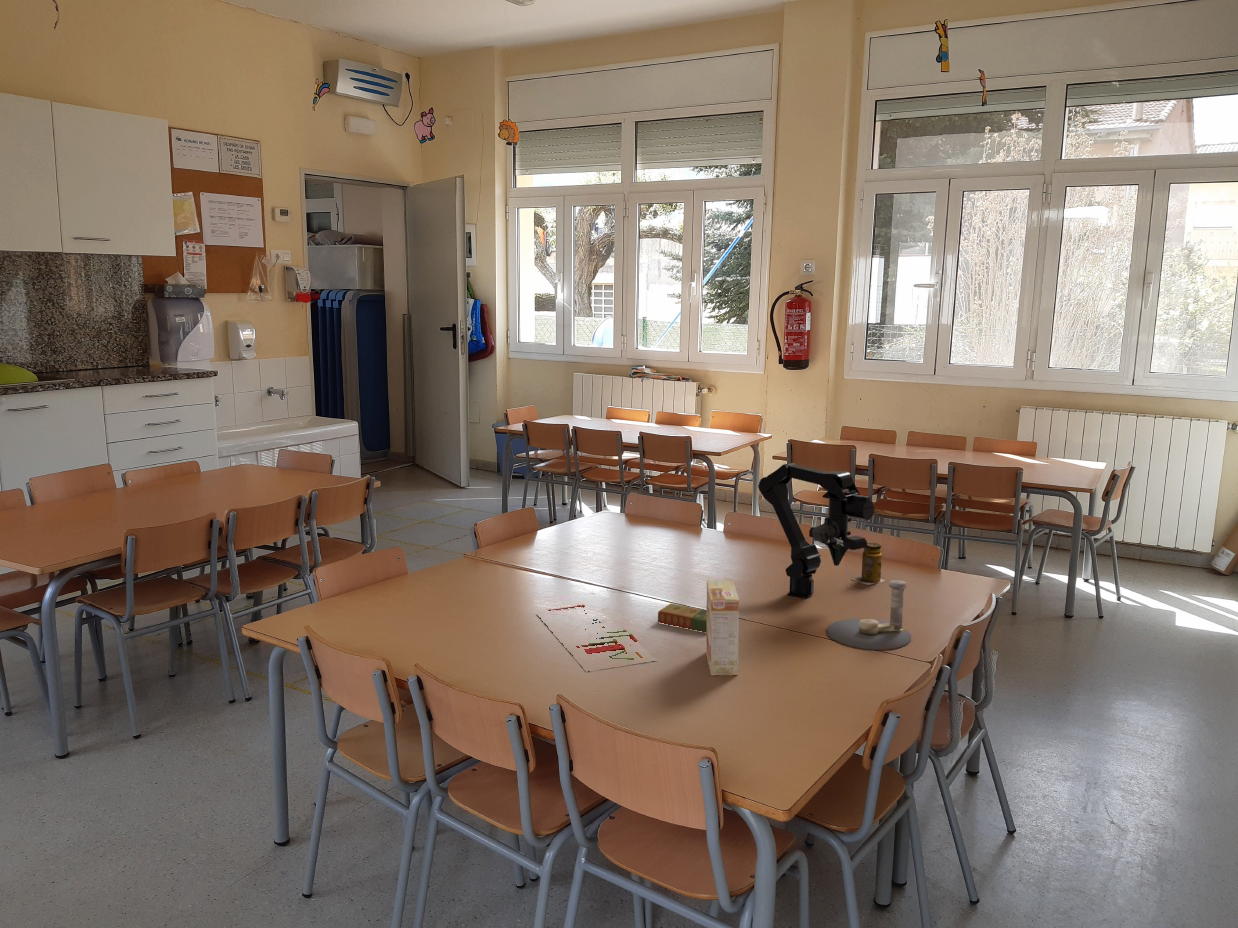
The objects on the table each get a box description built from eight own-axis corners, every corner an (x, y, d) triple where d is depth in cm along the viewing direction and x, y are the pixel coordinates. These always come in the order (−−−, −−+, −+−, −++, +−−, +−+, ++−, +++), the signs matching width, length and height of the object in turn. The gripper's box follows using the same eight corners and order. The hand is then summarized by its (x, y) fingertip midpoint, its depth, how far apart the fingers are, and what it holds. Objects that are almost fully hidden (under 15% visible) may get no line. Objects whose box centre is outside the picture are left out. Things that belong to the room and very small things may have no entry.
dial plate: (816, 640, 238) (816, 637, 238) (839, 615, 257) (840, 613, 257) (900, 655, 228) (900, 653, 228) (918, 628, 246) (918, 626, 246)
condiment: (886, 580, 289) (888, 545, 287) (868, 585, 285) (870, 549, 282) (868, 575, 295) (870, 540, 293) (851, 579, 291) (852, 544, 288)
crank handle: (864, 634, 239) (866, 587, 237) (855, 628, 244) (857, 582, 242) (907, 631, 242) (910, 584, 239) (898, 625, 246) (901, 579, 244)
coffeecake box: (705, 652, 231) (706, 579, 228) (732, 652, 231) (734, 580, 227) (709, 675, 216) (710, 599, 213) (738, 675, 216) (739, 599, 213)
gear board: (658, 653, 225) (586, 665, 219) (658, 662, 226) (586, 675, 219) (598, 599, 267) (535, 608, 260) (598, 607, 267) (536, 616, 260)
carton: (670, 616, 259) (670, 602, 258) (721, 625, 251) (722, 611, 250) (657, 625, 252) (657, 610, 251) (709, 635, 244) (709, 620, 243)
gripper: (796, 511, 266) (794, 561, 269) (840, 524, 251) (838, 577, 253) (824, 507, 272) (822, 556, 275) (869, 519, 256) (867, 571, 259)
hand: (836, 565), depth 265 cm, fingers closed
